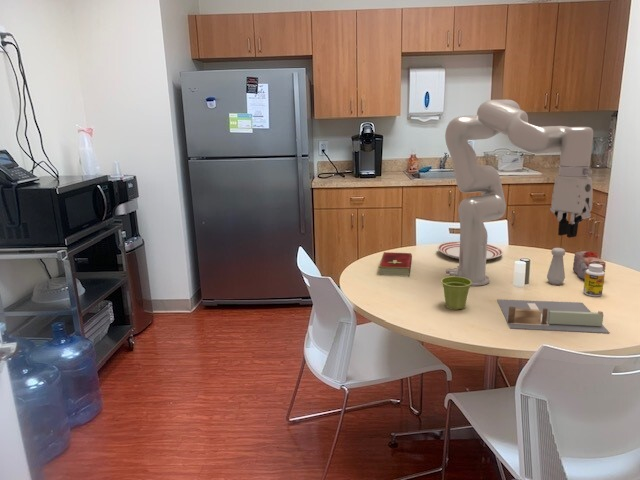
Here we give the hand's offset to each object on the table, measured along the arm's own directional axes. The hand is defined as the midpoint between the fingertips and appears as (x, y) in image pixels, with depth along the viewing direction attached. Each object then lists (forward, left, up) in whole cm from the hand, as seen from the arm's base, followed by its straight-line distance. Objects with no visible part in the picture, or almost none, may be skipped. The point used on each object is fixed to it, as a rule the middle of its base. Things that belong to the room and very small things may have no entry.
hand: (567, 235), depth 136 cm
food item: (+20, +38, -25) cm, 50 cm away
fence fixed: (-11, -7, -25) cm, 28 cm away
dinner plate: (-19, +64, -26) cm, 71 cm away
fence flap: (+2, -7, -25) cm, 26 cm away
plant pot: (-30, +4, -25) cm, 40 cm away
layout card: (-3, 0, -25) cm, 25 cm away
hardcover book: (-50, +43, -26) cm, 71 cm away
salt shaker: (+7, +30, -25) cm, 40 cm away
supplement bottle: (+16, +20, -25) cm, 36 cm away
